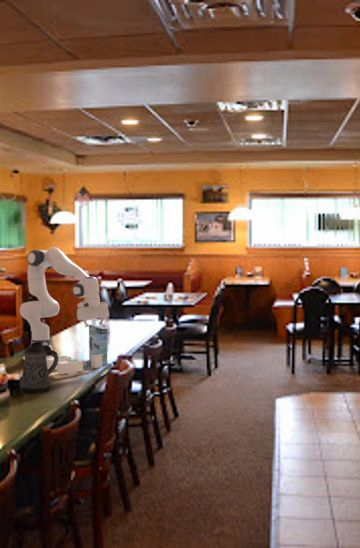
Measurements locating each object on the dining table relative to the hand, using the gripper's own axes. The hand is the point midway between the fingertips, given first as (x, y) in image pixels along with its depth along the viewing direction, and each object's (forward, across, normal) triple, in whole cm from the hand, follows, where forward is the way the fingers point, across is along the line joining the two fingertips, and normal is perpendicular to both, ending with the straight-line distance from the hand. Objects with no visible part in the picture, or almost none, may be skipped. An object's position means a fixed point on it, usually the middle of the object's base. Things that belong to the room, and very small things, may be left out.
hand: (93, 325), depth 381 cm
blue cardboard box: (+26, -10, -17) cm, 33 cm away
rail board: (+26, +20, -3) cm, 33 cm away
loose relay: (+26, +4, -12) cm, 29 cm away
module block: (+26, -3, -6) cm, 27 cm away
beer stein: (+27, +47, +22) cm, 59 cm away
